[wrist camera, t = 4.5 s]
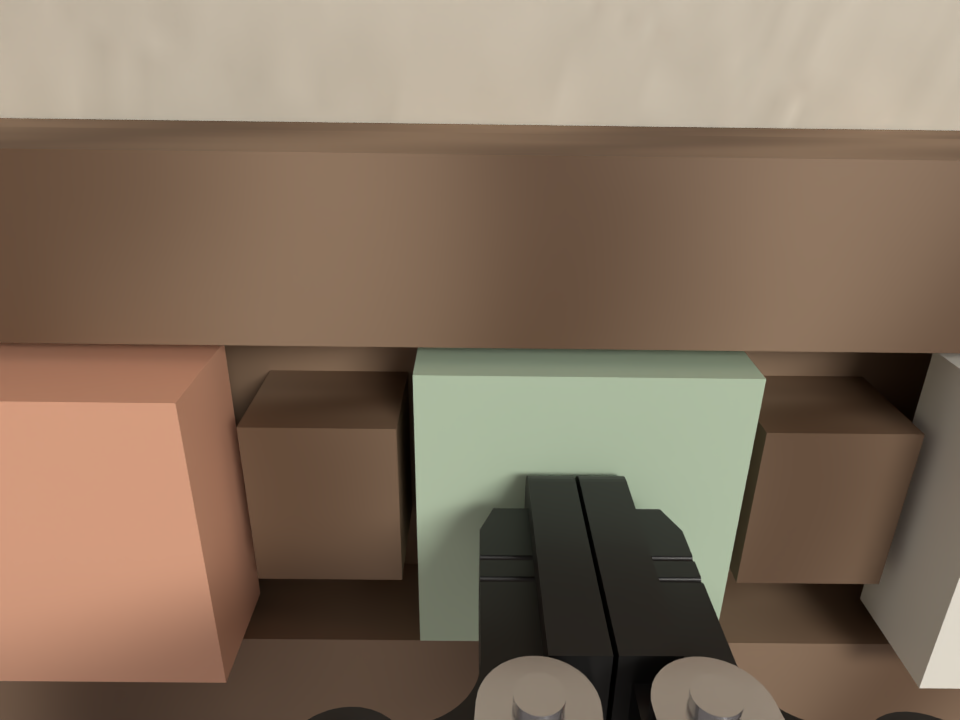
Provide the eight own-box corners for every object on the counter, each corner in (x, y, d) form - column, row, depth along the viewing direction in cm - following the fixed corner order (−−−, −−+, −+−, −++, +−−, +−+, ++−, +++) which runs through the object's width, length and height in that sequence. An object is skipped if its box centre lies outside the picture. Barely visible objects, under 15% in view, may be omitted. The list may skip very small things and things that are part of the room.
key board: (1268, 134, 12) (1495, 167, 9) (1045, 633, 17) (1156, 752, 14) (-126, 116, 12) (-302, 144, 9) (36, 624, 17) (-51, 742, 14)
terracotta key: (223, 341, 11) (175, 403, 10) (259, 593, 13) (226, 682, 12) (-102, 338, 11) (-213, 399, 9) (-15, 590, 13) (-92, 680, 12)
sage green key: (723, 326, 12) (766, 379, 10) (684, 563, 14) (714, 642, 12) (422, 322, 12) (412, 375, 10) (428, 561, 14) (420, 640, 12)
